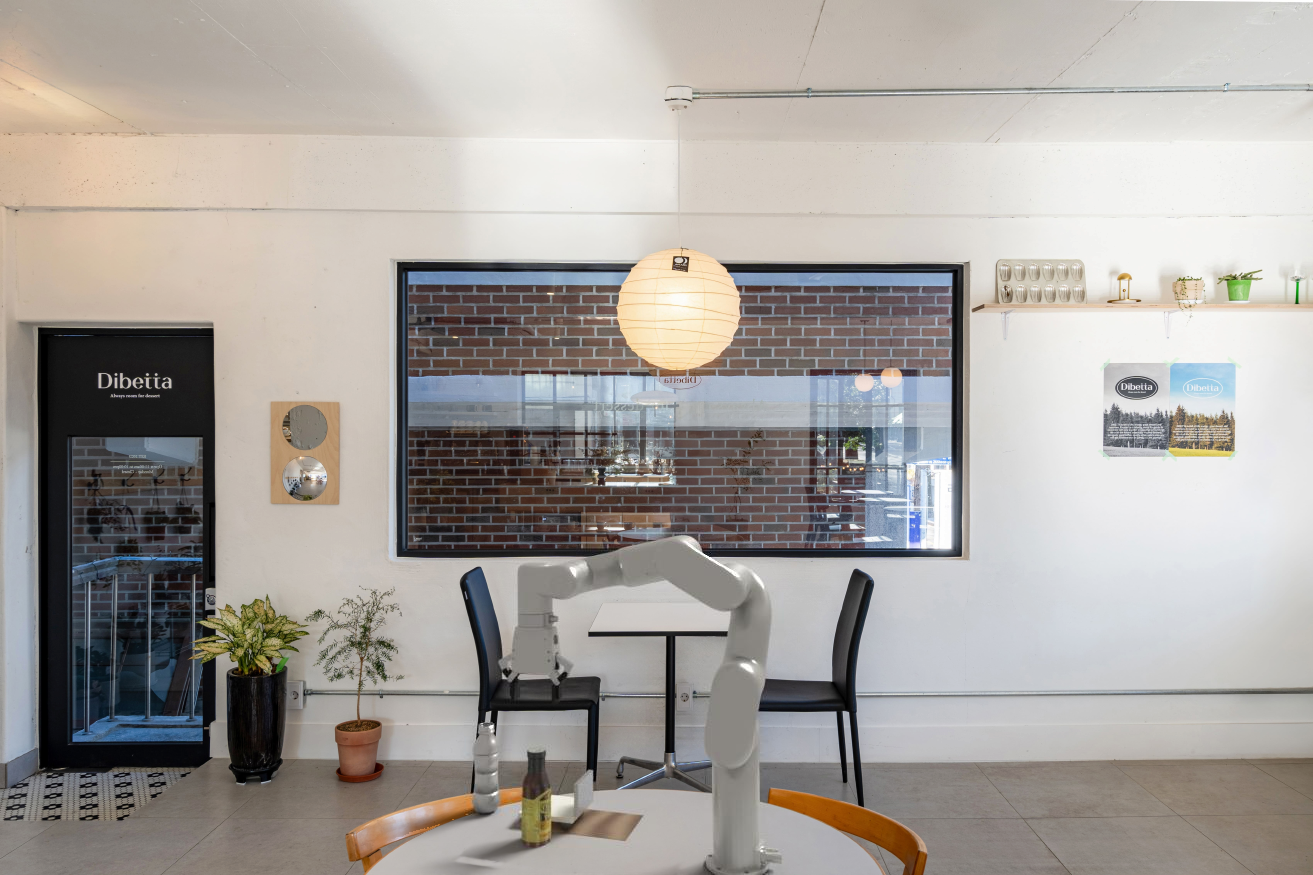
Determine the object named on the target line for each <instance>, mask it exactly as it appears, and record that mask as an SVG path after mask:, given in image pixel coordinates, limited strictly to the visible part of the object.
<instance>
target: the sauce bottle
mask: <svg viewBox="0 0 1313 875" xmlns="http://www.w3.org/2000/svg"><path fill="white" fill-rule="evenodd" d="M526 756H527V772H526V775H525V776H524V778H523V780H522V786H521V788H522V792H521V793H522V794H521V810H522V818H521V820H522V828H521V839H522V845H523V846H526V847H528V848H540V847H544V846H546V845H548V844H549V843H550V842H551V837H552V832H551V795H552V785H551V782H550V779H549V776H548V774H547V769H546V768H547V767H546V756H547V750H546V748H545V747H542V746H534V747H530V748H528V749H527V750H526Z"/></svg>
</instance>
